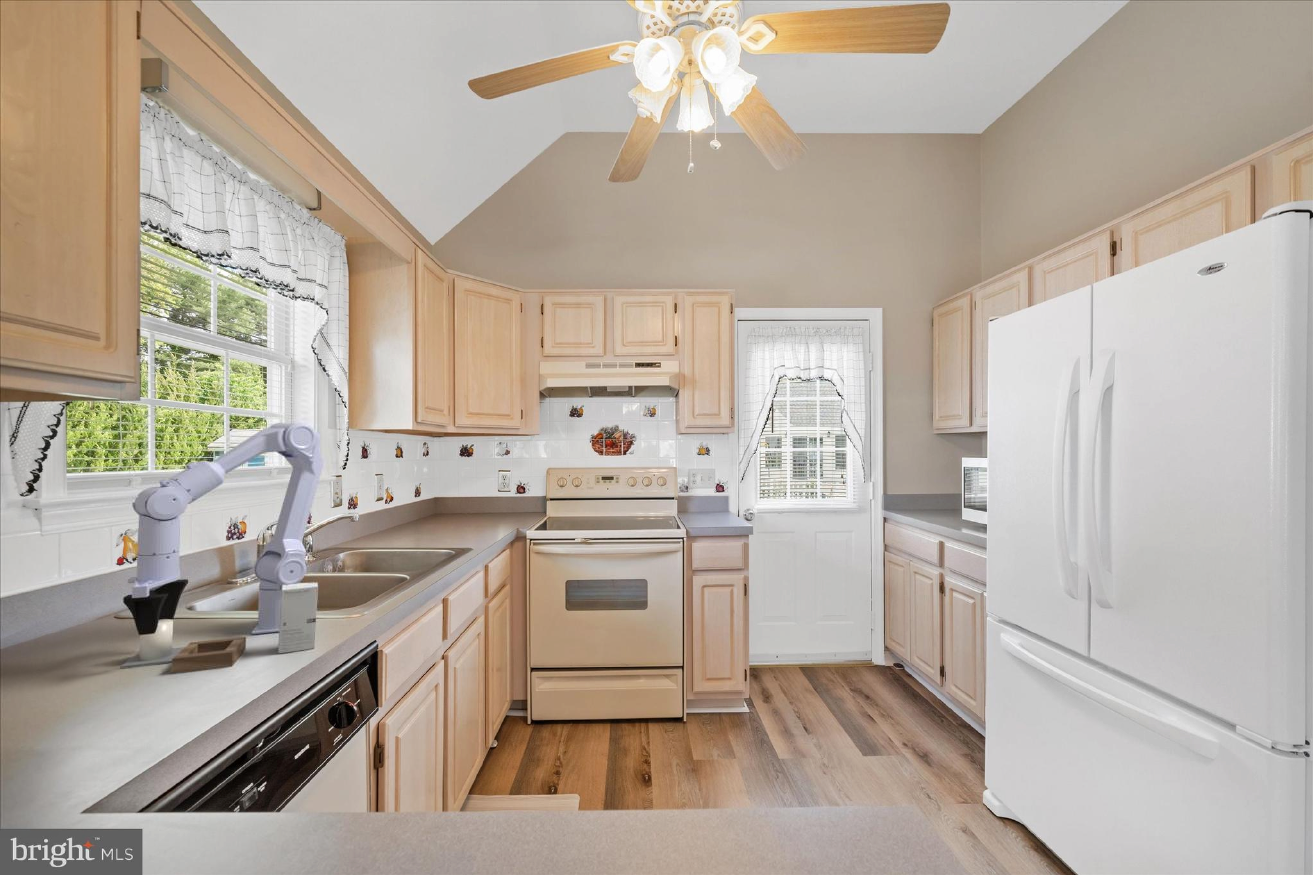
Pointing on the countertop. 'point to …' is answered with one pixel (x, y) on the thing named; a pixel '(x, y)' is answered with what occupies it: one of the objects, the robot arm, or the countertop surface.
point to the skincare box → (298, 617)
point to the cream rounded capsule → (157, 642)
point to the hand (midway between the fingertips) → (156, 627)
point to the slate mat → (136, 662)
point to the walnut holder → (209, 654)
